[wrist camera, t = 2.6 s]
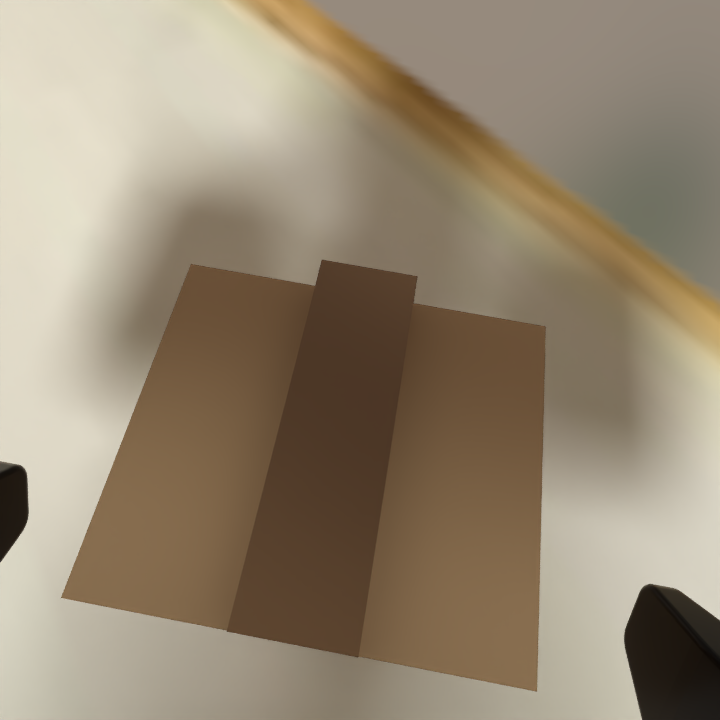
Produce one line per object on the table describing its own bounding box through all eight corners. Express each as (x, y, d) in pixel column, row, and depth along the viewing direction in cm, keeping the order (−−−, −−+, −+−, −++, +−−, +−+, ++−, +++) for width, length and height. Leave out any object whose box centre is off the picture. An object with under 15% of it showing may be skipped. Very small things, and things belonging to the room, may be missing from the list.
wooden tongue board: (391, 656, 15) (560, 697, 4) (244, 627, 15) (33, 592, 4) (408, 523, 16) (562, 302, 6) (275, 498, 16) (180, 235, 6)
